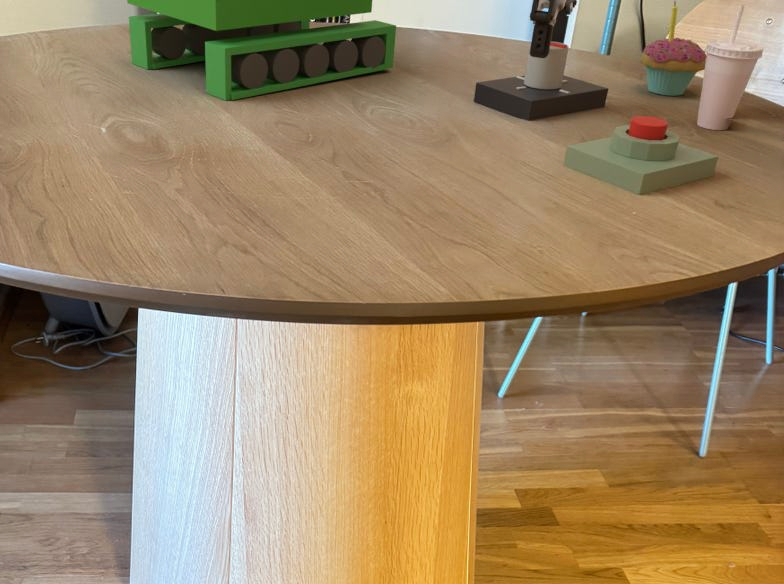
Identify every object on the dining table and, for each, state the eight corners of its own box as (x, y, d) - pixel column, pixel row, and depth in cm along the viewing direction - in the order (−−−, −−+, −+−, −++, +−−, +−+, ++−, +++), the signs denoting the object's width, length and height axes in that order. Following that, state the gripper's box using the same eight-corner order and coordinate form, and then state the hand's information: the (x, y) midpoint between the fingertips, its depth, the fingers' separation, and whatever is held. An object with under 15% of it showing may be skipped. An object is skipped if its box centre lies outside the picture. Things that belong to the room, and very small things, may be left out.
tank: (420, 67, 130) (432, -54, 122) (227, 101, 111) (225, -40, 103) (315, 37, 146) (319, -71, 138) (130, 62, 127) (122, -62, 118)
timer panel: (548, 89, 122) (551, 70, 121) (604, 107, 115) (609, 87, 114) (473, 101, 115) (476, 81, 114) (528, 121, 108) (532, 99, 107)
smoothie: (704, 115, 113) (736, -1, 106) (750, 128, 109) (787, 8, 101) (675, 122, 110) (706, 3, 102) (721, 136, 106) (757, 12, 98)
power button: (642, 130, 94) (646, 114, 93) (671, 140, 91) (675, 123, 90) (620, 135, 92) (624, 118, 91) (648, 144, 89) (652, 127, 89)
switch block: (636, 149, 100) (644, 114, 98) (712, 176, 93) (723, 139, 91) (563, 165, 94) (570, 128, 92) (638, 195, 87) (648, 156, 85)
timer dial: (516, 83, 114) (523, 41, 111) (537, 78, 117) (544, 36, 114) (547, 91, 111) (555, 48, 108) (568, 86, 114) (576, 43, 111)
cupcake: (659, 100, 119) (682, 6, 113) (621, 85, 126) (641, -5, 119) (710, 97, 121) (736, 5, 115) (670, 82, 128) (692, -6, 122)
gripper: (592, -86, 96) (563, 66, 105) (616, -94, 107) (587, 45, 116) (525, -92, 99) (502, 57, 107) (554, -98, 110) (531, 37, 118)
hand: (546, 50), depth 112 cm, fingers open, 8 cm apart
